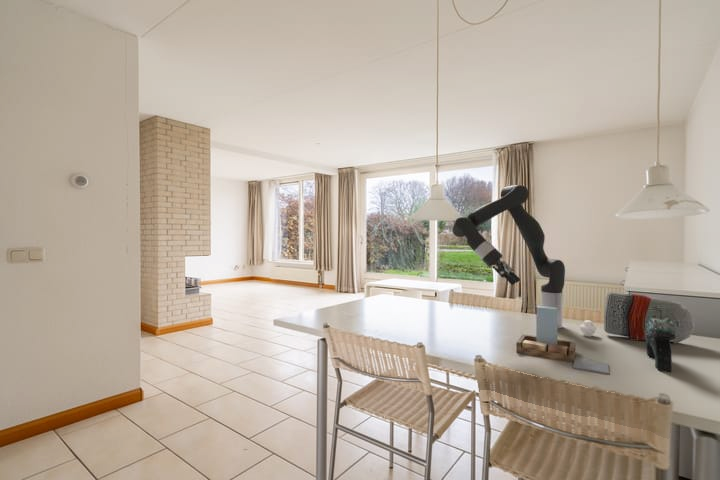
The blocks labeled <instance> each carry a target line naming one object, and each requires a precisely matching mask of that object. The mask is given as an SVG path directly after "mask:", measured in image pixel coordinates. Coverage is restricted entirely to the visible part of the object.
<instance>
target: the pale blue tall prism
mask: <svg viewBox="0 0 720 480" xmlns="http://www.w3.org/2000/svg"><path fill="white" fill-rule="evenodd" d="M535 314H536V321H535V322H536V324H535V325H536V335H535V336H536V342H540V343H546V344H548V345H549V344H555V345H557V339H558V333H559V332H558V330H559V329H558V308H556V307H546V306H541V305H536V313H535Z"/></svg>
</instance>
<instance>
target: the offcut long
mask: <svg viewBox="0 0 720 480" xmlns="http://www.w3.org/2000/svg"><path fill="white" fill-rule="evenodd" d="M522 348H529V349H535V350H541V351H547V344H546V343H540V342H534V341H528V340H524V341H523V342H522Z"/></svg>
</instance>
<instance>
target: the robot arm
mask: <svg viewBox="0 0 720 480" xmlns="http://www.w3.org/2000/svg"><path fill="white" fill-rule="evenodd" d="M529 193H530V191H529V190H528V188H527V186H525V185H522V184H515V185H508V186H504V187H503V188H502V189H501V191H500V198H499V199H498V198H497V199H496V200H494V201H491V202H488V203H485V204H484V205H482V206H481V205H480V207H478V208H476V209H474V210H473V211H471V212H470V213H469V214H468V215H467V216H459V217H457V218H456V219H455V222H454V224H453V226H452V233H453V235H454V236H456V237H457V238H464V237H465V239H466V243H467V245H468V246H469V247H470V249H471V250H472V251H473V252H474V253H475V254H476V255H477V257H478V258H479V259H480V260H481V261H482V262H483V263H484V264H485V265H486V266H487V267H488V268H491V267H492V269H493V270H495V272H496V273H497V274H498V275H499V276H500V277H501V278H503V279H505V280H506V281H507V282H509V284H510V285H512V286H513V285H515V284H517V283H518V282H520V281H521V278H520V277H519V276H518V275H517V274H516V273H515V270H514V269H513V268H512V267H511V266H510V265H508V263H507V262H506V261H504V260H503V261H502V260H501V259H502V258H503V254H502V253H501V252H500V251H499V250H498V249H497V248H496V247H495V246H494V245H493V244H492V243H490V242H489V241H488V240H487V239H486V238H485V237H484V236H483V235H482V234H481V233H480V231H479V229H478V227H479V226H481V225H482V224H483V225H484V223H487V222H488V221H489V220H491V219H493V218H494V217H496V216H498V215H499V214H500V215H501V214H502V213H503V212H505V211H508V213H509V214H510V215H511V217H512V219H513V221H514V223H515V225H516V227H517V228H518V231H519V233H520V236H521V237H522V239H523V241H524V242H525V244H526V246H527V248H528V251H529V252H530V255H531V257H532V259H533V262H534V264H535V268H536V270H537V272H538V273H539V275H540V276H541V277H544V278H548V282H547V283H545V284H542V285H541V286H540V287H541V288H540V306H546V307H556V308H558V330H559V329H563V290H564V287H565V279H566V278H565V276H566V267H565V264H564V261H563V260H560V259H554V258H553V259H552V258H549V257H548V256H547V255H546V252H545V249H544V246H545V245H544V244H545V238H546V236H545V233H544V231H543V229H542V227H541V224H540V223H539V222H538V220H537V219H536V218H535V217H534V216H532V215H531V214H530V213H529V212H528V211H527V210H526V209H525V208H524V206H523V204H524V203H526V202H527V201H528V199H529V195H530V194H529Z"/></svg>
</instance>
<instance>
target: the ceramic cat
mask: <svg viewBox="0 0 720 480" xmlns="http://www.w3.org/2000/svg"><path fill="white" fill-rule="evenodd" d="M659 311H660V314H662V308H660V309H659ZM656 316H657V317H658V319H654V318H655V317H656ZM661 319H662V315H660V319H659V316H658V315H654V317H653V318H650V319H649V321H648V324H646V325H645V339H646V340H645V348H646V355H648V356H649V357H648V356H647V357H648V358H651V357H655V358H654V361H655V362H654V363H655V364H654V366H655V368H656V369H657V371H658V372H665V371H666V372H667V373H672V365H673V364H672V362H673V361H672V360H673V358H672V347H671V343H670V340H672V339H675V329H674V325H673V323H672V322H671V321H670V318H666V319H665V320H661ZM666 372H665V373H666Z"/></svg>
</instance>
